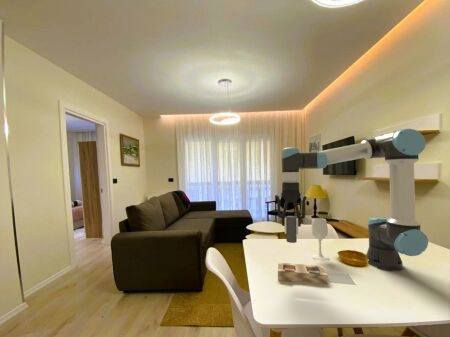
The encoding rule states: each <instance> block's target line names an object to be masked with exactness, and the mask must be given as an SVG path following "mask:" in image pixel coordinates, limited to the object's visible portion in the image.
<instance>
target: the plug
mask: <svg viewBox="0 0 450 337" xmlns="http://www.w3.org/2000/svg"><path fill="white" fill-rule="evenodd" d="M285 218H286V234H285V236H286V238H285V239H286V240H285V241H286V242H287V243H289V244H295V243H297V242H298V240H297V237H298V236H297V234H296V219H297V216H296V215H295V216H294V215H287V216H286V215H285Z"/></svg>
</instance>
